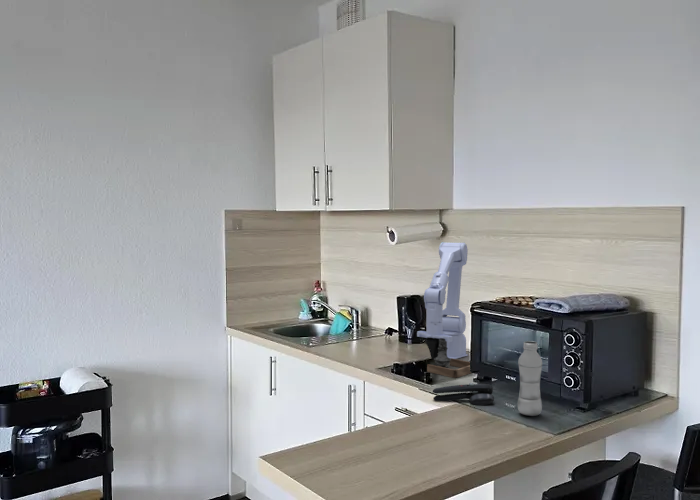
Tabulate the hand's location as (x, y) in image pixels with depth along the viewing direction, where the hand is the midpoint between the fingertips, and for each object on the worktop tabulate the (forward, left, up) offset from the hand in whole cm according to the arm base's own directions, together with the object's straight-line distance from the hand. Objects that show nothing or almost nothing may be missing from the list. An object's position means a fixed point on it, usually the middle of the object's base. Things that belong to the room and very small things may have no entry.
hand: (434, 359), depth 226 cm
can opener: (+27, +31, -3) cm, 41 cm away
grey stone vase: (0, +4, -3) cm, 5 cm away
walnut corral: (0, +8, -3) cm, 9 cm away
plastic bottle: (+24, +52, -3) cm, 57 cm away
